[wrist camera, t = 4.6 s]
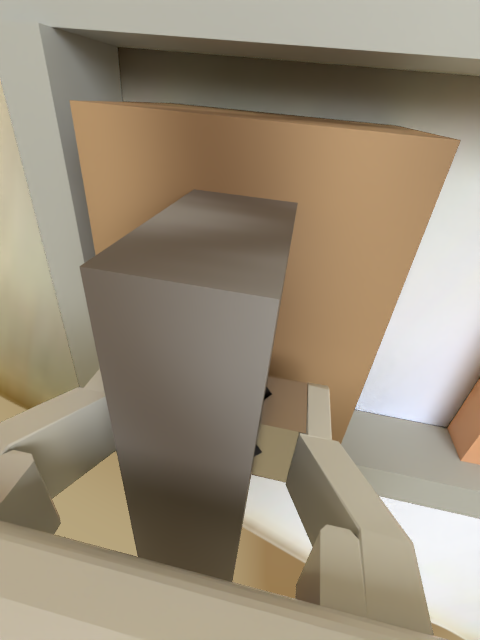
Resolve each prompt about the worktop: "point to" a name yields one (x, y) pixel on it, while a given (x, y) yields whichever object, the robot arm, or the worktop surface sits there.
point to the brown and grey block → (236, 289)
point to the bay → (242, 41)
